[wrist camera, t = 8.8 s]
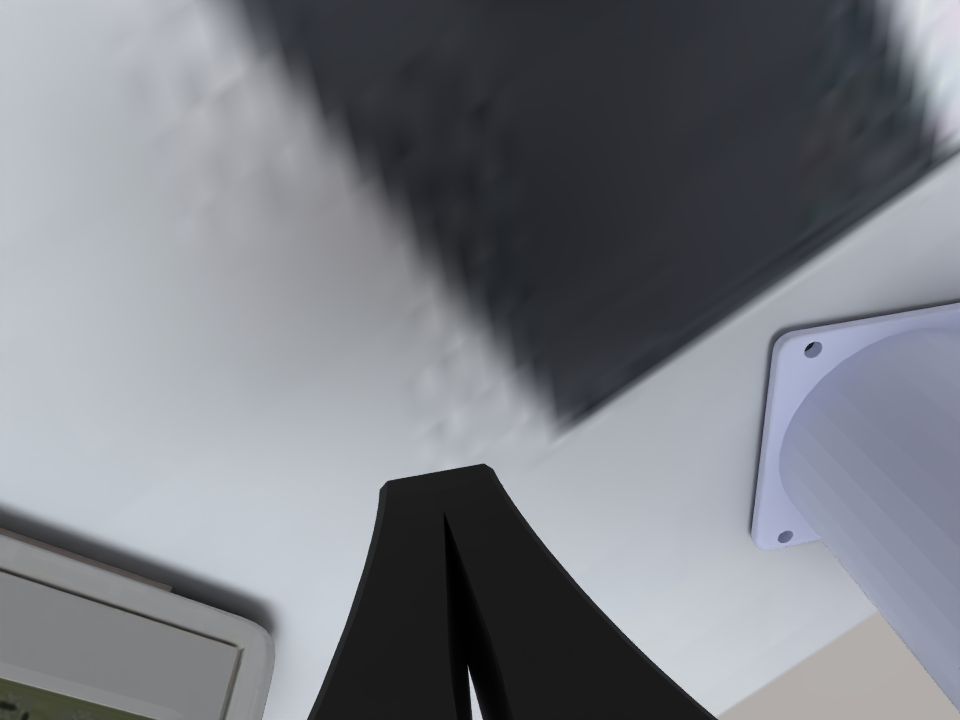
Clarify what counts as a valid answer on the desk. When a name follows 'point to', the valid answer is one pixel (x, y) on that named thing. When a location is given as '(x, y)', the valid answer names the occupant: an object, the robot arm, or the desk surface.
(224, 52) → the desk surface
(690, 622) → the desk surface
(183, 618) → the digital clock
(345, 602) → the desk surface
